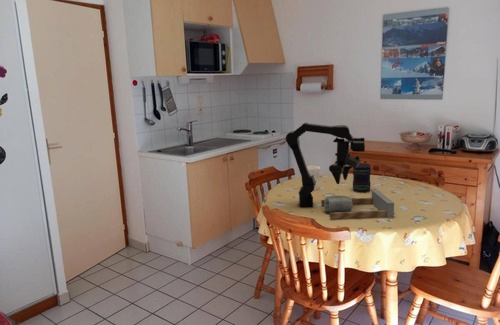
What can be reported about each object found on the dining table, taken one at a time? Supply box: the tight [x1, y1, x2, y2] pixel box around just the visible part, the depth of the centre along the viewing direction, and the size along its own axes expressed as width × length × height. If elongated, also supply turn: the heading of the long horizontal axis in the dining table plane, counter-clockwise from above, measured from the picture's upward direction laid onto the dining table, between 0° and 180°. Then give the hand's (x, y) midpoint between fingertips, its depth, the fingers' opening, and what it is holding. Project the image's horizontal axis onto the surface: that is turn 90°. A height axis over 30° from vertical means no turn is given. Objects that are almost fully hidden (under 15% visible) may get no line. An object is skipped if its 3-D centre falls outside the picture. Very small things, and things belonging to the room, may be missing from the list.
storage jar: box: [352, 162, 372, 194], centre depth 219 cm, size 10×10×15 cm
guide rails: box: [321, 197, 387, 221], centre depth 187 cm, size 26×21×3 cm
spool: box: [323, 195, 354, 214], centre depth 186 cm, size 14×10×10 cm
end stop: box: [370, 189, 395, 219], centre depth 187 cm, size 3×22×7 cm, turn 1°
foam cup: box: [306, 165, 321, 191], centre depth 227 cm, size 10×9×13 cm
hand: (341, 181), depth 191 cm, fingers open, 9 cm apart
